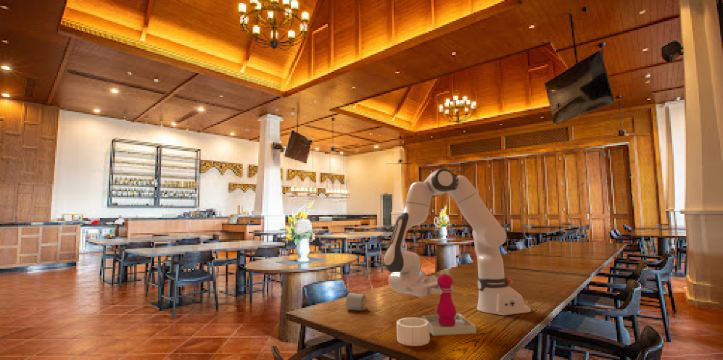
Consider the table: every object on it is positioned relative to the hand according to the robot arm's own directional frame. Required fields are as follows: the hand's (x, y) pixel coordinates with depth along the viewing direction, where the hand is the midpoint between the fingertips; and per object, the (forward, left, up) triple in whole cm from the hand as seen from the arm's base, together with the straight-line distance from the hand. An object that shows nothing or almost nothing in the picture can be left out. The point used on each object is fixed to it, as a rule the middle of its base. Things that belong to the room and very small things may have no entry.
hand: (447, 290), depth 132 cm
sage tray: (+1, -1, -14) cm, 14 cm away
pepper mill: (+1, -1, -13) cm, 13 cm away
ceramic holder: (+17, +10, -14) cm, 24 cm away
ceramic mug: (+33, -34, -14) cm, 49 cm away
